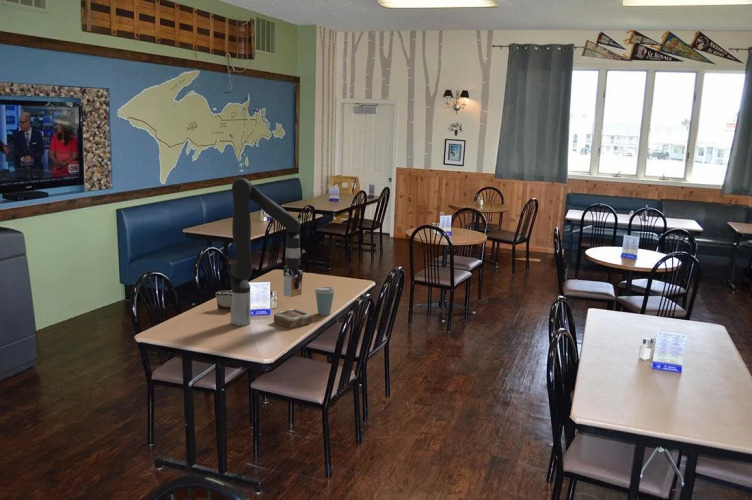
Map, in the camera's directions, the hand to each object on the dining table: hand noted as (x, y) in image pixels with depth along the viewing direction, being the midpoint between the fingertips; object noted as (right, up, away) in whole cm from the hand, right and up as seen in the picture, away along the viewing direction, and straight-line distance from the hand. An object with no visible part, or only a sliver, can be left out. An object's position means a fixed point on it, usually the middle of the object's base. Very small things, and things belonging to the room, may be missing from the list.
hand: (292, 287), depth 334 cm
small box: (0, -4, +1) cm, 4 cm away
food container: (-39, -14, +24) cm, 48 cm away
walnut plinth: (-1, -19, +4) cm, 19 cm away
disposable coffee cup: (+15, -16, +21) cm, 30 cm away
